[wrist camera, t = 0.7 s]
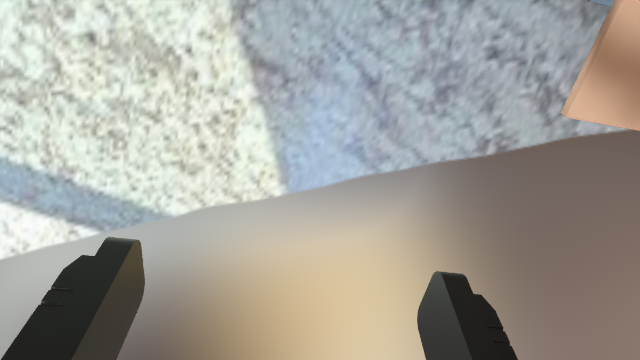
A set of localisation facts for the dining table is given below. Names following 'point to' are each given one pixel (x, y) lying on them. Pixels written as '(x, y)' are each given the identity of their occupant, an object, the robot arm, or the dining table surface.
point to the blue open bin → (603, 2)
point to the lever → (611, 72)
